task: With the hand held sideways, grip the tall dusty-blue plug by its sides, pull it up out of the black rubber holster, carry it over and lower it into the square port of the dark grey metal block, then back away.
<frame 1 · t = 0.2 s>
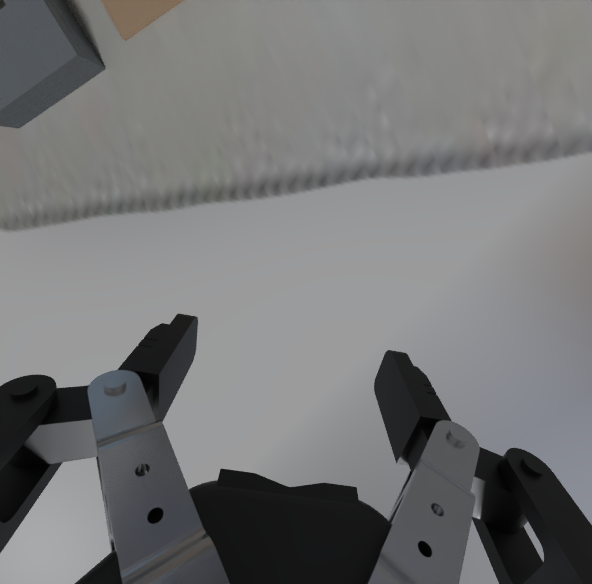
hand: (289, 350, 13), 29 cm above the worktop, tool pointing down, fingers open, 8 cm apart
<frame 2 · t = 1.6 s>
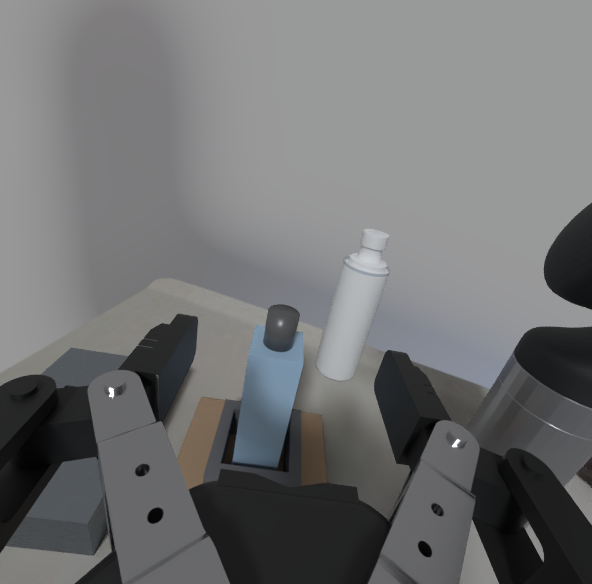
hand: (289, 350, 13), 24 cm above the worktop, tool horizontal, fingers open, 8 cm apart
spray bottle: (334, 368, 51), on the worktop
holster: (253, 466, 33), on the worktop
port block: (82, 443, 32), on the worktop
plug: (254, 463, 33), point 1 cm above the worktop, touching holster
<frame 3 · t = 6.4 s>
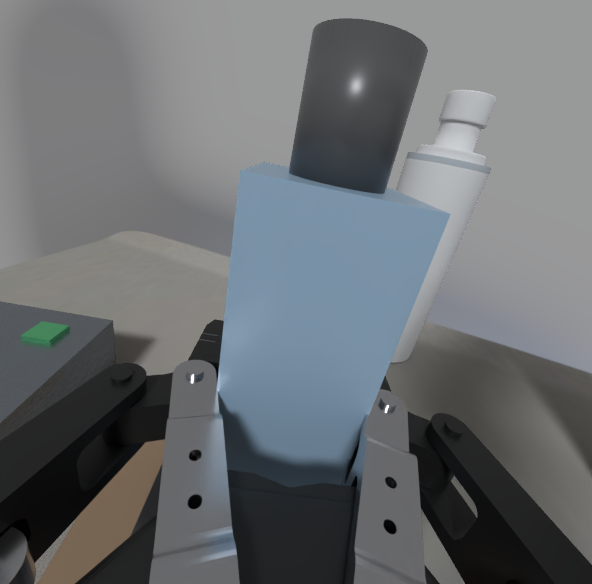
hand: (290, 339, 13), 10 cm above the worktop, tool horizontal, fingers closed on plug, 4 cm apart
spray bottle: (378, 344, 33), on the worktop
holster: (254, 528, 15), on the worktop
plug: (255, 521, 15), point 1 cm above the worktop, touching gripper, holster
when the fingers open (10 cm above the worktop, at t = 12.7 s): plug drops 1 cm, resting in port block.
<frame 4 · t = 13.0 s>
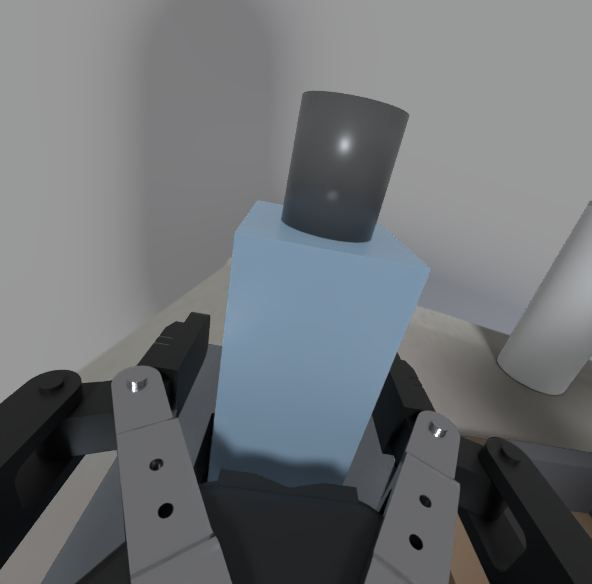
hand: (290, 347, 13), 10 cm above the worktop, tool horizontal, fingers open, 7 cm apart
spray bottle: (527, 375, 35), on the worktop
holster: (578, 576, 17), on the worktop
port block: (251, 536, 15), on the worktop
plug: (252, 537, 15), resting in port block
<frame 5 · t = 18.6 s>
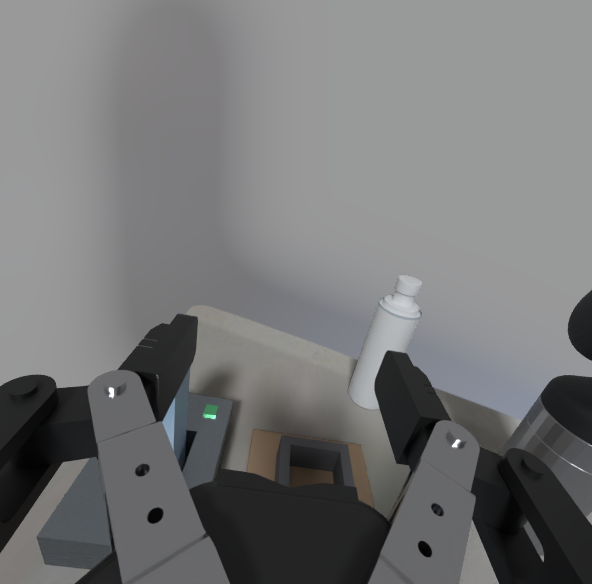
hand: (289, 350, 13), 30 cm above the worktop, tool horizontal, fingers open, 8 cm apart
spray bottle: (365, 396, 55), on the worktop
holster: (308, 496, 37), on the worktop
port block: (159, 476, 36), on the worktop
plug: (159, 477, 36), resting in port block
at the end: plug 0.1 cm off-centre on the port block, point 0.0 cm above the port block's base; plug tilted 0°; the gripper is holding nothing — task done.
